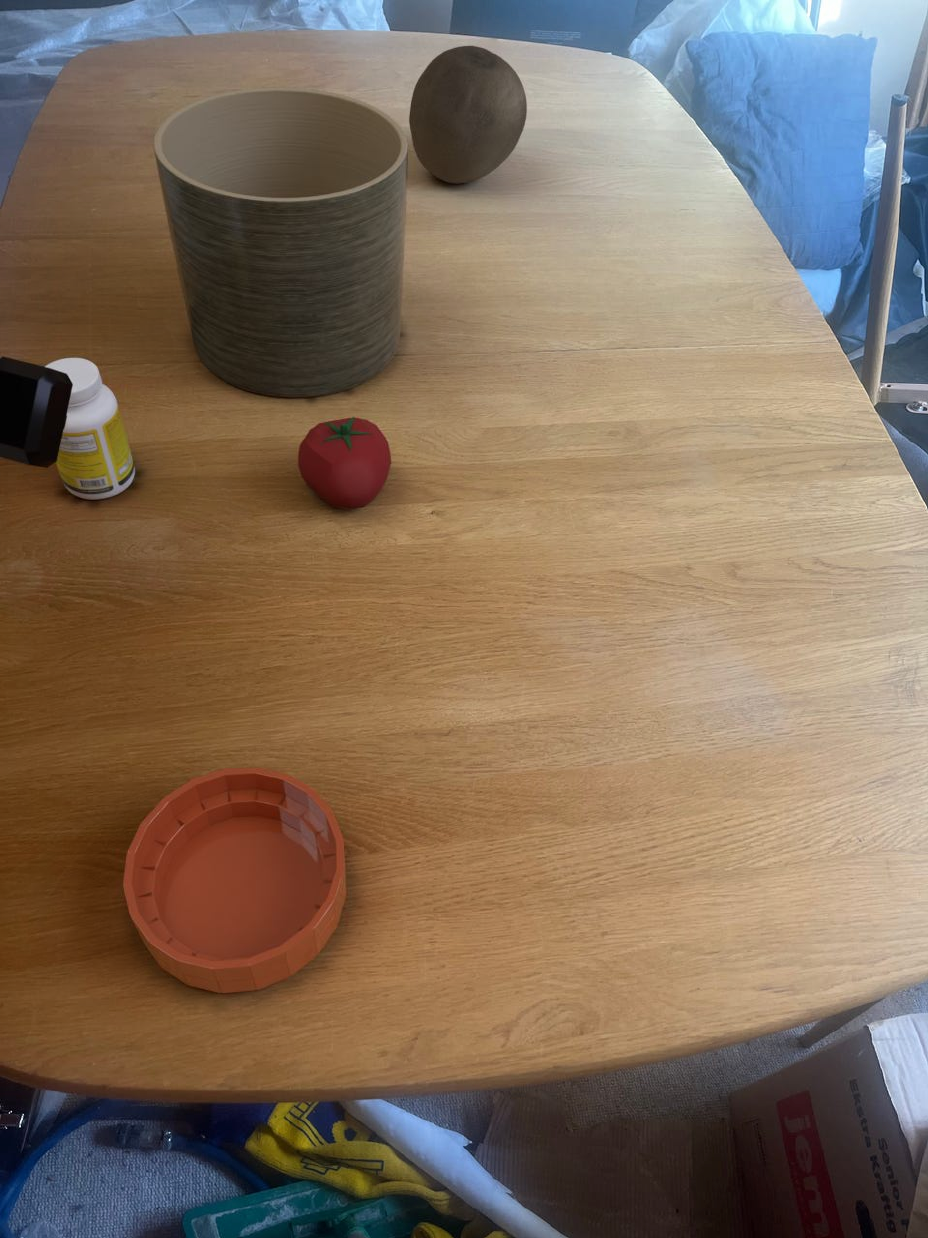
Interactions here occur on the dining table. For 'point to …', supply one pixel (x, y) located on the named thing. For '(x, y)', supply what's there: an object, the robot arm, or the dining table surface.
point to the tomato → (345, 461)
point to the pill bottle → (92, 436)
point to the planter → (287, 235)
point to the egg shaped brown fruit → (466, 114)
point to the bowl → (236, 879)
